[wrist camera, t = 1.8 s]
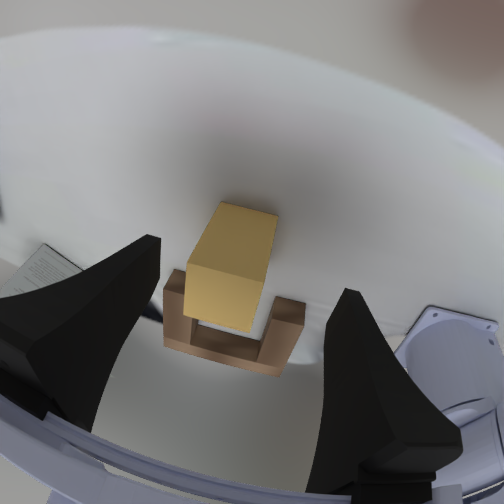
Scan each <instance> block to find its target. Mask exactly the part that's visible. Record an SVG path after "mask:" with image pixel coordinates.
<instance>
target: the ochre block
mask: <svg viewBox="0 0 504 504" xmlns="http://www.w3.org/2000/svg"><path fill="white" fill-rule="evenodd" d="M277 220H278V216H276V215H272V214H268V213H264V212H260V211H256V210H252V209H248V208H244V207H240V206H236V205H232V204H228V203H224V202H221V203H220V204H219V206H218V208H217V210H216V211H215V213H214V215H213V217H212V218H211V220H210V222H209V224H208V225H207V227H206V229H205V231H204V232H203V234H202V236H201V238H200V240H199V241H198V243H197V245H196V247H195V249H194V250H193V252H192V254H191V256H190V258H189V259H188V261H187V268H186V281H185V295H184V311H183V315H185V316H189V317H192V318H195V319H199V320H202V321H206V322H210V323H213V324H217V325H220V326H224V327H228V328H232V329H235V330H239V331H243V332H247V333H250V330H251V326H252V323H253V320H254V316H255V313H256V309H257V306H258V303H259V299H260V296H261V292H262V289H263V286H264V282H265V277H266V273H267V268H268V263H269V259H270V254H271V249H272V244H273V240H274V235H275V230H276V225H277Z"/></svg>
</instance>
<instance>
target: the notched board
mask: <svg viewBox="0 0 504 504" xmlns="http://www.w3.org/2000/svg"><path fill="white" fill-rule="evenodd" d="M185 281H186V272H183V271H179V270H175V269H174V271H173V272H172V274H171V276H170V278H169V279H168V281H167V283H166V285H165V286H164V288H163V332H164V333H163V334H164V346H165V347H168V348H171V349H174V350H177V351H181V352H184V353H188V354H190V355H194V356H197V357H201V358H204V359H208V360H211V361H215V362H219V363H222V364H226V365H230V366H234V367H238V368H242V369H245V370H250V371H254V372H258V373H262V374H267V375H271V376H275V377H280V375H281V373H282V371H283V369H284V367H285V365H286V363H287V361H288V359H289V357H290V355H291V353H292V351H293V348H294V346H295V344H296V342H297V340H298V338H299V336H300V334H301V332H302V330H303V328H304V321H305V306H306V304H305V303H301V302H297V301H293V300H289V299H285V298H281V297H277V296H276V297H275V300H274V303H273V306H272V309H271V312H270V315H269V318H268V320H267V323H266V326H265V329H264V332H263V335H262V338H261V341H257V340H253V339H249V338H245V337H241V336H237V335H233V334H230V333H226V332H222V331H219V330H215V329H211V328H208V327H204V326H201V325H198V319H195V318H192V317H189V316H185V315H183V311H184V295H185Z"/></svg>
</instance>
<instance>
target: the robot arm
mask: <svg viewBox="0 0 504 504" xmlns="http://www.w3.org/2000/svg"><path fill="white" fill-rule="evenodd" d="M160 253H161V238H159V237H155V236H152V235H148V234H146V235H145V236H143V237H141V238H139V239H138V240H136V241H134V242H133V243H131V244H130V245H128V246H126V247H125V248H123V249H121V250H120V251H118V252H116V253H115V254H113V255H111V256H110V257H108V258H106V259H104V260H102V261H101V262H99V263H97V264H95V265H93V266H91V267H90V268H88V269H86V270H84V271H82V272H80V273H78V274H75V275H73V276H71V277H69V278H66V279H64V280H62V281H59V282H56V283H53V284H51V285H48V286H45V287H42V288H39V289H36V290H33V291H29V292H26V293H22V294H18V295H14V296H9V297H3V298H0V455H1V456H2V457H3V458H5V459H6V460H8V461H9V462H10V463H12V464H13V465H14V466H16V467H17V468H19V469H20V470H22V471H23V472H25V473H26V474H28V475H29V476H31V477H32V478H34V479H36V480H37V481H39V482H40V483H42V484H44V485H45V486H47V487H49V488H50V489H52V492H51V494H50V496H49V499H48V501H47V503H46V504H208V503H204V502H201V501H197V500H193V499H190V498H186V497H182V496H179V495H175V494H172V493H169V492H166V491H162V490H159V489H156V488H153V487H151V486H148V485H145V484H142V483H140V482H137V481H134V480H131V479H128V478H125V477H123V476H118V475H115V474H112V473H110V472H108V471H107V470H106V469H105V468H104V465H103V463H101V462H99V461H97V460H100V461H102V462H104V463H106V464H109V465H111V466H113V467H116V468H118V469H120V470H123V471H125V472H128V473H131V474H133V475H136V476H138V477H141V478H144V479H146V480H149V481H152V482H155V483H158V484H161V485H164V486H167V487H170V488H174V489H177V490H180V491H184V492H187V493H191V494H194V495H198V496H202V497H206V498H210V499H214V500H219V501H223V502H228V503H232V504H504V482H503V483H501V484H500V485H498V486H495V487H493V488H490V489H488V490H486V491H483V492H480V493H478V494H475V495H473V496H470V497H467V498H464V499H462V497H463V496H466V495H469V494H471V493H474V492H477V491H479V490H482V489H484V488H487V487H489V486H491V485H494V484H496V483H498V482H501V481H503V480H504V356H503V354H502V351H501V348H500V346H499V343H498V341H497V338H496V336H495V332H496V331H497V330H498V328H499V325H498V323H497V322H493V321H489V320H485V319H481V318H476V317H472V316H468V315H464V314H460V313H456V312H452V311H448V310H443V309H439V308H435V307H428V308H427V309H426V310H425V311H424V313H423V314H422V316H421V317H420V318H419V320H418V321H417V323H416V324H415V325H414V327H413V328H412V329H411V331H410V332H409V333H408V335H407V336H406V337H405V339H404V340H403V341H402V343H401V344H400V346H399V347H398V348H397V349H396V350H395V352H394V353H393V351H392V350H391V348H390V346H389V345H388V343H387V341H386V340H385V338H384V336H383V334H382V333H381V331H380V329H379V327H378V325H377V323H376V322H375V320H374V318H373V316H372V314H371V312H370V310H369V308H368V306H367V304H366V302H365V300H364V299H363V297H362V295H361V293H360V292H359V291H355V290H351V289H348V288H345V289H344V291H343V293H342V295H341V297H340V299H339V301H338V303H337V305H336V307H335V308H334V310H333V312H332V314H331V316H330V318H329V320H328V321H327V323H326V331H325V340H324V400H323V410H322V417H321V424H320V430H319V436H318V442H317V447H316V452H315V456H314V460H313V465H312V469H311V473H310V476H309V480H308V484H307V488H306V491H305V493H302V492H294V491H286V490H279V489H272V488H266V487H260V486H254V485H249V484H244V483H239V482H233V481H230V480H225V479H221V478H217V477H212V476H209V475H205V474H201V473H197V472H194V471H190V470H187V469H183V468H180V467H177V466H173V465H170V464H167V463H164V462H161V461H158V460H155V459H153V458H150V457H147V456H144V455H141V454H139V453H136V452H134V451H131V450H128V449H126V448H123V447H121V446H119V445H116V444H114V443H111V442H109V441H107V440H104V439H102V438H100V437H98V436H96V435H94V434H91V430H92V426H93V423H94V420H95V416H96V413H97V409H98V406H99V403H100V400H101V397H102V394H103V391H104V389H105V386H106V383H107V381H108V378H109V376H110V373H111V370H112V368H113V366H114V363H115V361H116V359H117V356H118V354H119V352H120V350H121V348H122V345H123V344H124V342H125V340H126V338H127V337H128V335H129V333H130V332H131V330H132V328H133V327H134V325H135V323H136V322H137V320H138V319H139V317H140V315H141V314H142V312H143V310H144V309H145V307H146V305H147V304H148V302H149V300H150V299H151V297H152V294H153V292H154V290H155V288H156V286H157V283H158V281H159V279H160ZM434 313H435V314H434ZM404 368H407V370H408V374H407V372H406V371H405V369H404ZM90 456H91V457H90ZM92 457H93V458H92ZM94 458H95V459H94ZM96 459H97V460H96Z"/></svg>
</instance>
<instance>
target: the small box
mask: <svg viewBox="0 0 504 504" xmlns="http://www.w3.org/2000/svg"><path fill="white" fill-rule="evenodd" d="M80 272H82V270H81V269H79V268H78V267H76V266H75V265H73V264H72V263H70V262H69V261H67V260H66V259H65V258H63V257H62V256H60V255H59V254H57V253H56V252H55V251H53V250H52V249H50V248H49V247H48V246H46V245H45V244H43V245H42V246H41V247H40V248H39V249H38V250H37V251H36V252H35V253H34V254H33V255H32V256H31V257H30V258H29V259H28V260H27V261H26V262H25V263H24V264H23V265H22V266H21V267H20V268H19V269H18V271H17V272H16V273H15V274H14V275H13V276H12V277H11V278H10V279H9V280H8V281H7V282H6V284H5V285H4V286H3V287H2V288H1V289H0V298H3V297H9V296H14V295H18V294H22V293H26V292H29V291H33V290H36V289H39V288H42V287H45V286H48V285H51V284H53V283H56V282H59V281H62V280H64V279H66V278H69V277H71V276H73V275H75V274H78V273H80Z"/></svg>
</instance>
